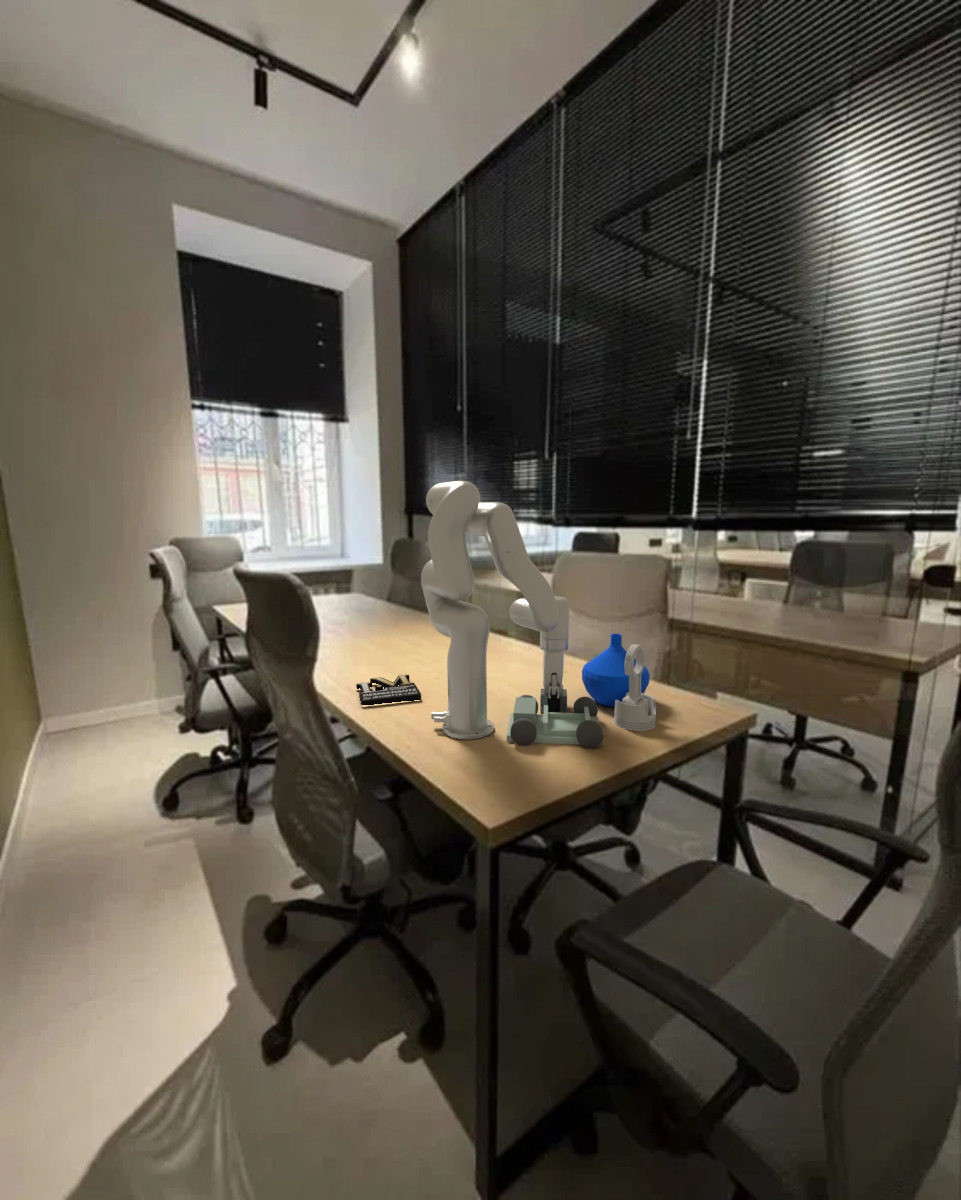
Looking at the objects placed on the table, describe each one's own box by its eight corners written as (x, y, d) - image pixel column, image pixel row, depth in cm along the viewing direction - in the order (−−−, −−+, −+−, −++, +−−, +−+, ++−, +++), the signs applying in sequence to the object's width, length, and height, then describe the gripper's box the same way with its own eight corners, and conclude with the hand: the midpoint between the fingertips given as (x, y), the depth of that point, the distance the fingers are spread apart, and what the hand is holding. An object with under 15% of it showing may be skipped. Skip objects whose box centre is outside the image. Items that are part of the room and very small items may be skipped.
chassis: (505, 745, 127) (505, 718, 126) (511, 716, 144) (511, 692, 143) (603, 749, 124) (604, 721, 123) (596, 719, 142) (597, 695, 141)
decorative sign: (361, 701, 152) (354, 680, 170) (361, 709, 152) (355, 687, 171) (421, 694, 157) (409, 674, 176) (422, 702, 157) (409, 681, 176)
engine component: (661, 721, 140) (624, 712, 146) (665, 643, 136) (627, 637, 143) (644, 735, 131) (605, 725, 138) (647, 652, 128) (607, 645, 134)
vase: (593, 687, 167) (594, 625, 164) (655, 696, 158) (657, 631, 155) (571, 706, 151) (572, 638, 148) (639, 717, 142) (641, 645, 139)
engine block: (540, 713, 147) (540, 689, 146) (540, 706, 152) (540, 683, 151) (566, 714, 146) (567, 690, 145) (566, 706, 151) (566, 684, 150)
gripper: (540, 635, 155) (540, 695, 158) (539, 651, 138) (538, 718, 141) (567, 635, 154) (566, 696, 157) (569, 651, 137) (568, 719, 140)
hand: (553, 706), depth 149 cm, fingers open, 7 cm apart
